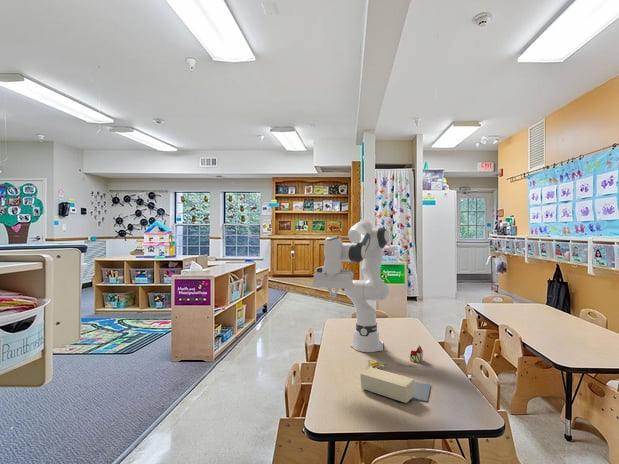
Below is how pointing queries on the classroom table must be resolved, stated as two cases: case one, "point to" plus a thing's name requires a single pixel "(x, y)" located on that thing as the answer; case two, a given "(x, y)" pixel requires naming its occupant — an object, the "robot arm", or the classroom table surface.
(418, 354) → the toy house
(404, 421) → the classroom table surface
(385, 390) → the toy refrigerator
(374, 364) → the character toy
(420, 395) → the mat
